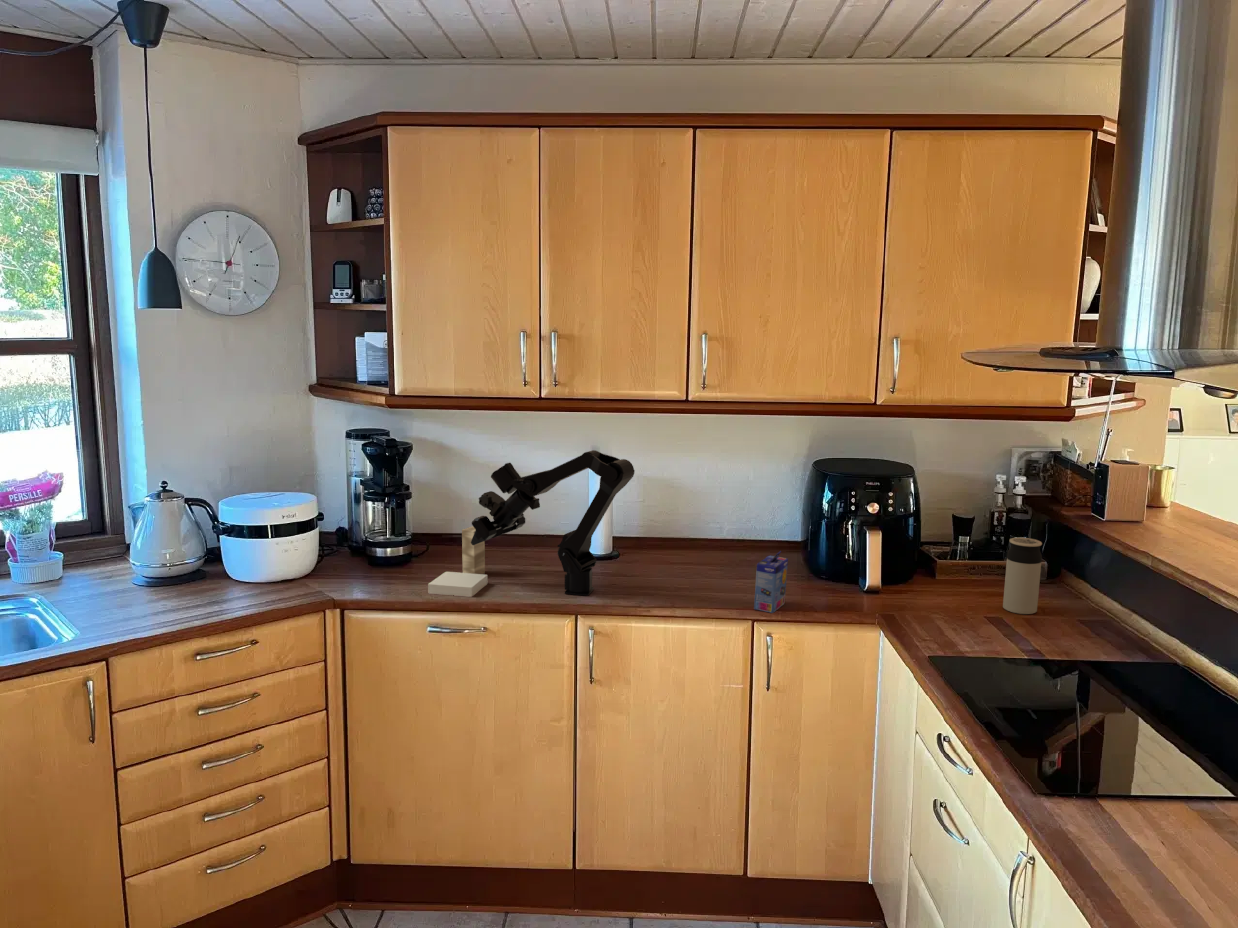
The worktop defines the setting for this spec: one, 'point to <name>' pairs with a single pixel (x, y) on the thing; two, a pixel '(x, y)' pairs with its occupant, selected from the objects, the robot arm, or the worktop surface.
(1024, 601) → the travel mug
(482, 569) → the birch block
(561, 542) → the robot arm
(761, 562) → the ink cartridge box
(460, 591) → the cream square slab
